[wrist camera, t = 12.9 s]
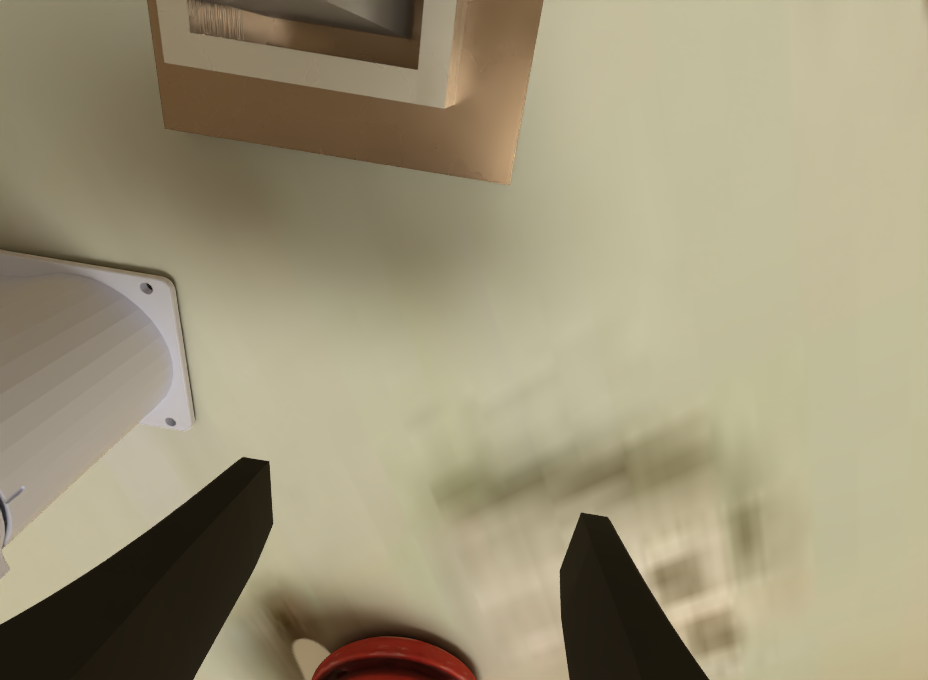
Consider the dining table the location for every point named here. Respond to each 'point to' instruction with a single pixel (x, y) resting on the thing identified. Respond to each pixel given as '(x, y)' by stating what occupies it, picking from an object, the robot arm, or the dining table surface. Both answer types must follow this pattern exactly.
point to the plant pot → (391, 661)
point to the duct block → (338, 13)
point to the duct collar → (354, 83)
